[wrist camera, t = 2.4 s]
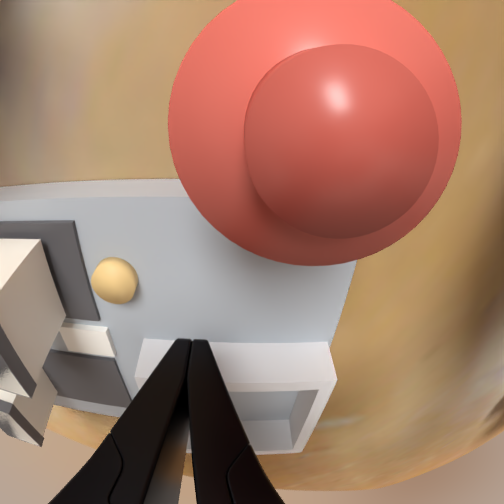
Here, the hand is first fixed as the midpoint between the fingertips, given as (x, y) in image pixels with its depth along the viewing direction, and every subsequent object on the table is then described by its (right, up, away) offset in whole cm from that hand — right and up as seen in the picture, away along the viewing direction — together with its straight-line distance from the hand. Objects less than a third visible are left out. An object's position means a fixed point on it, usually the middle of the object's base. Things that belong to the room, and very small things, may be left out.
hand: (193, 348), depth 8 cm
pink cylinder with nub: (+2, +8, +1) cm, 8 cm away
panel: (-5, -1, +6) cm, 7 cm away
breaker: (-7, +2, +2) cm, 7 cm away
